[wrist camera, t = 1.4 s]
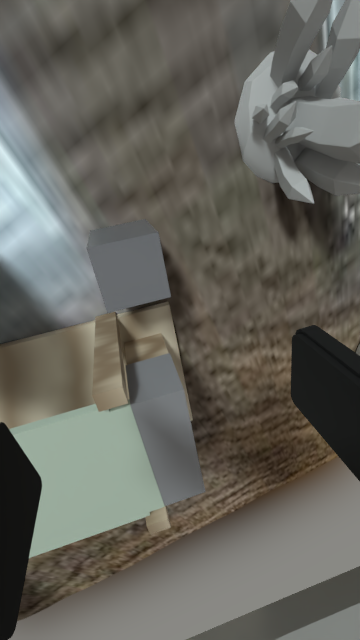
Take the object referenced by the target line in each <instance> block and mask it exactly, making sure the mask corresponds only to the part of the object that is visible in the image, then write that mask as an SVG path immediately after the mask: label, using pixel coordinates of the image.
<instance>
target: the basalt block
mask: <svg viewBox="0 0 360 640" xmlns="http://www.w3.org/2000/svg"><path fill="white" fill-rule="evenodd" d="M87 251H88V254H89V257H90V260H91V263H92V266H93V270H94V273H95V276H96V279H97V282H98V285H99V288H100V291H101V294H102V297H103V300H104V304H105V307H106V310H107V313H109V312H113V311H117V310H121V309H125V308H129V307H133V306H137V305H141V304H145V303H149V302H153V301H157V300H161V299H165V298H169V297H171V294H170V289H169V284H168V279H167V274H166V269H165V264H164V259H163V254H162V249H161V244H160V238H159V233H158V231H157V230H156V229H155V228H154V227H153V226H152V225H151V224H150V223H149V222H148V221H147V220H146V219H143V220H138V221H134V222H129V223H124V224H120V225H115V226H110V227H106V228H101V229H96V230H92V231H90V234H89V239H88V244H87Z"/></svg>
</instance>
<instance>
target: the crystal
mask: <svg viewBox="0 0 360 640" xmlns="http://www.w3.org/2000/svg"><path fill="white" fill-rule="evenodd" d="M331 4H332V0H291V1H290V4H289V7H288V9H287V12H286V15H285V18H284V21H283V23H282V26H281V29H280V32H279V36H278V40H277V44H276V48H275V51H274V52H271V53H270V54H269V55H268V56H267V57H266V58H265V59H264V60H263V62H262V63H261V64H260V65H259V66H258V67H257V68H256V70H255V71H254V72H253V73H252V74H251V75H250V76H249V78H248V79H247V80H246V81H245V83H244V87H243V91H242V95H241V98H240V102H239V106H238V110H237V114H236V117H235V126H236V131H237V135H238V139H239V144H240V148H241V153H242V158H243V161H244V162H245V164H246V165H247V166H248V167H249V168H250V169H251V170H252V172H253V173H254V174H255V175H256V176H258V177H260V178H262V179H264V180H267V181H269V182H271V183H277V182H279V184H280V187H281V188H282V190H283V191H284V193H285V195H286V196H287V198H288V199H292V200H297V201H302V202H307V203H312V204H314V199H313V196H312V192H311V188H310V185H309V183H308V181H307V179H308V180H309V181H311V182H312V183H313V184H315V185H316V186H318V187H319V188H321V189H323V190H325V191H327V192H329V193H331V194H333V195H335V196H340V195H349V194H358V193H360V165H358V164H356V163H359V164H360V101H355V100H351V99H346V98H341V97H340V95H341V88H340V86H339V83H340V82H341V80H342V79H343V77H344V75H345V74H346V72H347V71H348V69H349V67H350V66H351V64H352V62H353V61H354V59H355V58H356V56H357V54H358V52H359V49H360V0H346V1H345V2H344V4H343V6H342V8H341V9H340V11H339V13H338V15H337V16H336V18H335V20H334V22H333V23H332V27H331V31H330V35H329V39H328V42H327V46H326V49H325V50H323V51H322V52H320V53H319V54H318V55H317V54H315V53H314V52H312V51H311V50H309V48H310V46H311V44H312V42H313V40H314V38H315V37H316V35H317V33H318V31H319V30H320V28H321V26H322V25H323V23H324V21H325V19H326V18H327V16H328V14H329V12H330V8H331Z"/></svg>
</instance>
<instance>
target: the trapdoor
mask: <svg viewBox="0 0 360 640" xmlns="http://www.w3.org/2000/svg"><path fill="white" fill-rule="evenodd" d="M125 366H126V374H127V382H128V390H129V398H130V399H129V400H128V404H125V405H121V406H118V407H114V408H111V409H108V410H104V411H101V412H99V411H98V409H97V406H96V404H93V405H89V406H86V407H83V408H79V409H76V410H72V411H69V412H66V413H62V414H59V415H55V416H52V417H49V418H45V419H42V420H38V421H35V422H31V423H28V424H25V425H21V426H18V427H14V428H11V429H9V430H10V432H11V433H12V435H13V436H14V438H15V439H16V441H17V442H18V444H19V445H20V447H21V448H22V450H23V451H24V453H25V454H26V456H27V457H28V459H29V460H30V462H31V463H32V465H33V466H34V468H35V469H36V471H37V472H38V474H39V475H40V477H41V480H42V491H41V496H40V501H39V507H38V512H37V517H36V522H35V528H34V533H33V538H32V544H31V549H30V554H29V558H31V557H33V556H36V555H39V554H42V553H45V552H48V551H50V550H53V549H56V548H59V547H62V546H64V545H67V544H70V543H73V542H76V541H79V540H81V539H84V538H87V537H90V536H93V535H96V534H98V533H101V532H104V531H107V530H110V529H113V528H115V527H118V526H121V525H124V524H127V523H129V522H132V521H135V520H138V519H141V518H144V517H146V516H149V515H150V512H151V511H154V510H157V509H160V508H162V507H165V506H167V505H169V504H172V503H175V502H178V501H181V500H184V499H186V498H189V497H192V496H195V495H198V494H201V493H203V492H205V488H204V483H203V478H202V474H201V469H200V464H199V459H198V455H197V450H196V445H195V440H194V436H193V431H192V426H191V421H190V417H189V412H188V407H187V402H186V398H185V393H184V389H183V386H182V383H181V381H180V378H179V376H178V373H177V370H176V368H175V365H174V363H173V360H172V357H171V355H170V353H168V354H164V355H161V356H157V357H154V358H150V359H147V360H143V361H139V362H136V363H132V364H129V365H125Z"/></svg>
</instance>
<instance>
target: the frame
mask: <svg viewBox="0 0 360 640" xmlns="http://www.w3.org/2000/svg"><path fill="white" fill-rule="evenodd" d="M168 353H170V355H171V357H172V360H173V363H174V365H175V368H176V370H177V373H178V376H179V378H180V381H181V383H182V386H183V389H184V393H185V398H186V402H187V407H188V412H189V417H190V421H192V420H193V418H192V413H191V408H190V403H189V398H188V393H187V388H186V383H185V379H184V374H183V369H182V364H181V359H180V354H179V349H178V344H177V339H176V334H175V329H174V325H173V320H172V315H171V310H170V305H169V303H168V302H164V303H160V304H156V305H153V306H149V307H145V308H141V309H137V310H133V311H129V312H125V313H121V314H117V315H116V313H115V312H112V313H109V314H105V315H101V316H97V317H96V319H95V320H94V321H90V322H86V323H82V324H78V325H74V326H70V327H66V328H63V329H59V330H55V331H51V332H47V333H43V334H39V335H35V336H31V337H27V338H23V339H19V340H16V341H12V342H8V343H4V344H0V422H3V423H5V424H6V426H7V427H8V429H11V428H14V427H18V426H21V425H25V424H28V423H31V422H35V421H38V420H42V419H45V418H49V417H52V416H55V415H59V414H62V413H66V412H69V411H72V410H76V409H79V408H83V407H86V406H89V405H93V404H96V406H97V409H98V411H99V412H101V411H104V410H108V409H111V408H114V407H118V406H121V405H125V404H128V400H129V399H130V398H129V390H128V382H127V374H126V366H125V365H129V364H132V363H136V362H139V361H143V360H147V359H150V358H154V357H157V356H161V355H164V354H168ZM146 524H147V528H148V530H149V533H150V535H151V534H154V533H156V532H159V531H162V530H165V529H167V528H170V527H171V526H170V521H169V516H168V511H167V506H165V507H162V508H160V509H157V510H154V511H151V512H150V515H149V516H146Z"/></svg>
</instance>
